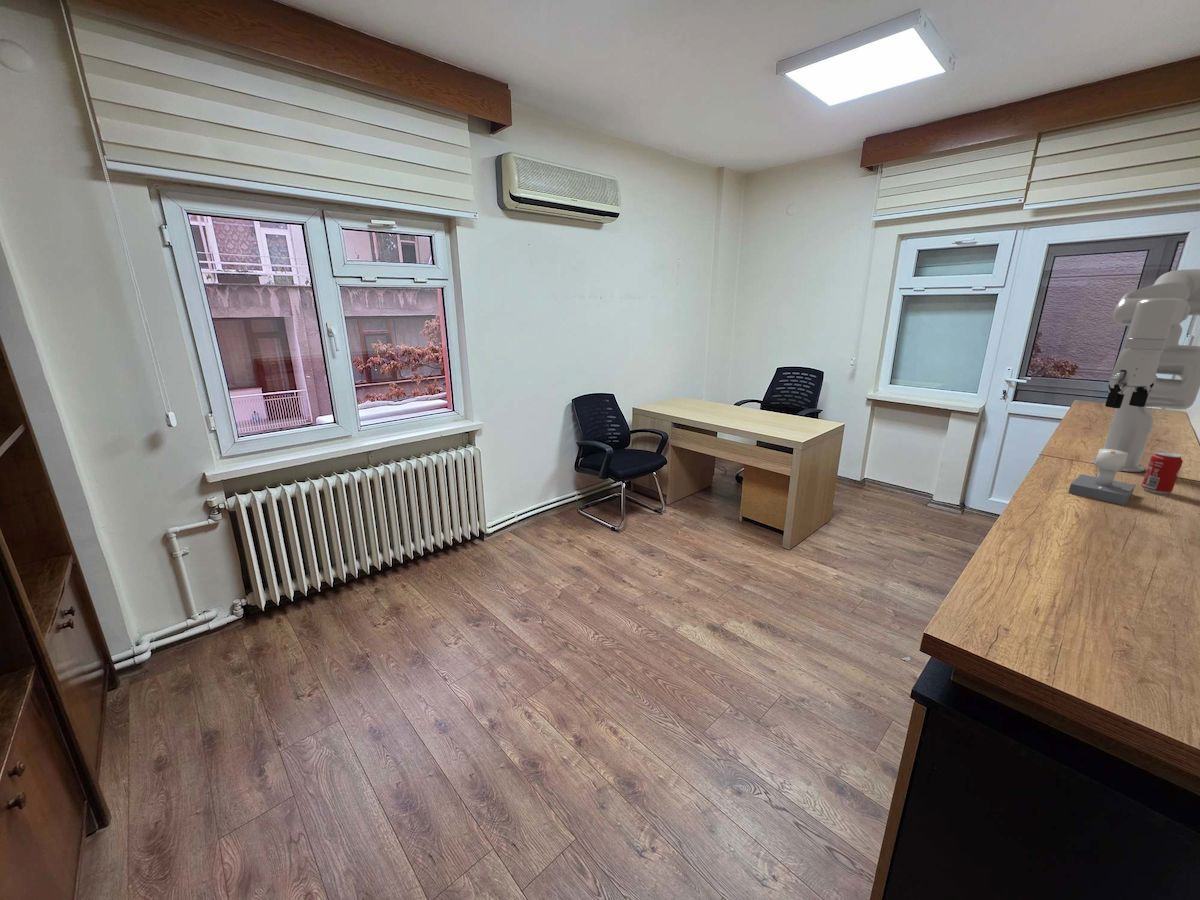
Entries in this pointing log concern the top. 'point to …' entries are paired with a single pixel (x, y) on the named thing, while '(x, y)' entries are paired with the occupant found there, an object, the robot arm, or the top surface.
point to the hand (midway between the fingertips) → (1124, 406)
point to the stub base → (1102, 487)
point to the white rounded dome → (1111, 459)
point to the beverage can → (1162, 472)
